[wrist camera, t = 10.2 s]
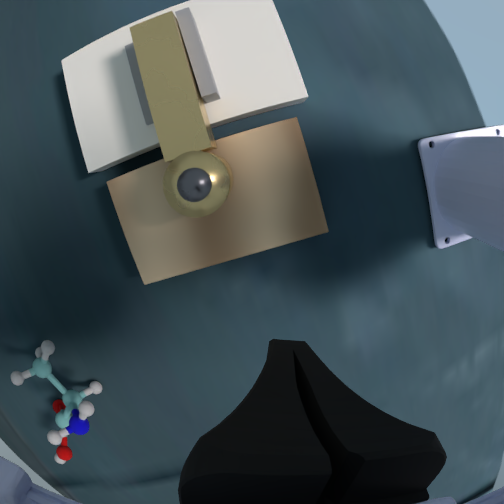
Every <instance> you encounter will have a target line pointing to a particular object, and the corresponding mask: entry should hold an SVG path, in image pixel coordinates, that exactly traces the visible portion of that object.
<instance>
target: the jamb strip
mask: <svg viewBox="0 0 504 504" xmlns="http://www.w3.org/2000/svg"><path fill="white" fill-rule="evenodd" d="M215 142H216V146H217V149H214V150H211V151H208V152H211V153H215V154H217V155H219V156H221V157H222V158H224V159H225V160H226V161H227V162H228V164H229V165H230V167H231V169H232V172H233V179H234V180H233V187H232V190H231V192H230V194H229V196H228V197H227V198H226V200H225V201H224V203H223V204H222V205H221V206H220V208H218V209H217V210H216V211H215V212H213V213H212V214H210V215H207V216H204V217H198V218H194V217H187V216H184V215H182V214H180V213H178V212H177V211H176V210H174V209H173V208H172V207H171V206H170V204H169V203H168V201H167V200H166V197H165V195H164V191H163V178H164V174H165V171H166V169H167V167H168V166H169V164H170V163H171V162H165V160H164V159H161V160H159V161H156V162H154V163H151V164H148V165H146V166H143V167H141V168H138V169H136V170H133V171H131V172H129V173H126V174H124V175H121V176H119V177H117V178H114V179H112V180H110V181H107V185H108V188H109V191H110V194H111V197H112V200H113V203H114V206H115V209H116V212H117V215H118V218H119V220H120V223H121V226H122V229H123V231H124V234H125V237H126V240H127V242H128V245H129V247H130V250H131V253H132V255H133V258H134V260H135V263H136V265H137V268H138V270H139V273H140V275H141V278H142V280H143V283H144V285H146V284H149V283H153V282H156V281H160V280H163V279H167V278H170V277H174V276H177V275H181V274H184V273H188V272H191V271H195V270H198V269H202V268H205V267H208V266H212V265H215V264H219V263H222V262H226V261H229V260H233V259H236V258H240V257H243V256H247V255H250V254H254V253H257V252H261V251H264V250H268V249H271V248H275V247H278V246H281V245H285V244H288V243H292V242H295V241H299V240H302V239H306V238H309V237H313V236H316V235H320V234H323V233H326V232H329V231H328V227H327V223H326V219H325V215H324V211H323V207H322V203H321V200H320V196H319V192H318V188H317V185H316V181H315V177H314V174H313V170H312V167H311V163H310V160H309V156H308V153H307V149H306V146H305V142H304V139H303V136H302V133H301V129H300V126H299V123H298V120H297V117H295V118H291V119H287V120H283V121H279V122H276V123H272V124H268V125H265V126H261V127H258V128H254V129H251V130H247V131H244V132H241V133H237V134H234V135H231V136H228V137H225V138H221V139H218V140H215Z"/></svg>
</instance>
